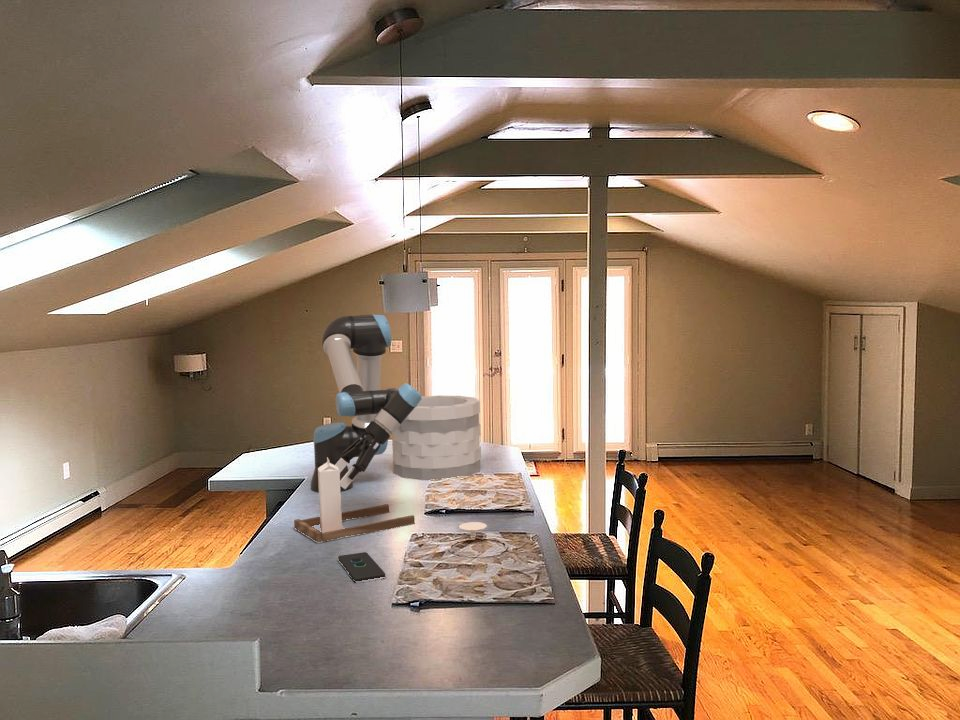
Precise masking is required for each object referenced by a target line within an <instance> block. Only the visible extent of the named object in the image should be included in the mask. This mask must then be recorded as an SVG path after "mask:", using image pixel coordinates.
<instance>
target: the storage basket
mask: <svg viewBox="0 0 960 720" xmlns="http://www.w3.org/2000/svg"><path fill="white" fill-rule="evenodd" d="M421 396H422V395H421ZM480 413H481V401H480V399H478V398H476V397H472V396H471V397H470V396H462V395H440V394H439V395H425V396H422V399H421V401H420V402H419V403H418V405H417V407H415V408H414V409H413V410H412V412H411V413H410V414H409V415H408V416H407V417H406V419H405V420H404V421H403V422H402V423H401V424H400V426H399V427H398V428H399V429H398V430H395V431H394V433H393V434H391V436H392V440H391V441H392V461H393V462H392V465H393V467H392V468H393V469H392V471H393V474H395V475H396V476H398V477H400V478H403V479H411V480H417V481H418V480H419V481H431V480H430V479H442V478H451V477H457V476H468V475H470V476H472V474H473V475H474V474H478V473H479V472H480V471H481V459H482V446H481V445H480V442H481V441H480V436H482V435H481V424H480ZM468 477H469V476H468Z"/></svg>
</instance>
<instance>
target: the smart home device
mask: <svg viewBox="0 0 960 720" xmlns="http://www.w3.org/2000/svg"><path fill="white" fill-rule="evenodd" d="M338 559H339V561H340V562H341V563H342V564H343V566H344V567H345V568H346V570H347V571H348V572H349V575H350V576H351V577H352V578H353V579H354V580H355V581H362V580H368V579H374V578H380V577H385V578H386V573H385V571H384V570H383V569H382V568H381V566H379V564H378V563H376V561H375V560H374V559H373V558H372V557H371V556H370V555H369V553H368V552H366V551H364V552H363V551H362V552H357V553H350V554H343V555H339V556H338V557H337V560H338ZM339 561H338V562H339ZM349 575H348V576H349ZM350 576H349V577H350Z"/></svg>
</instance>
